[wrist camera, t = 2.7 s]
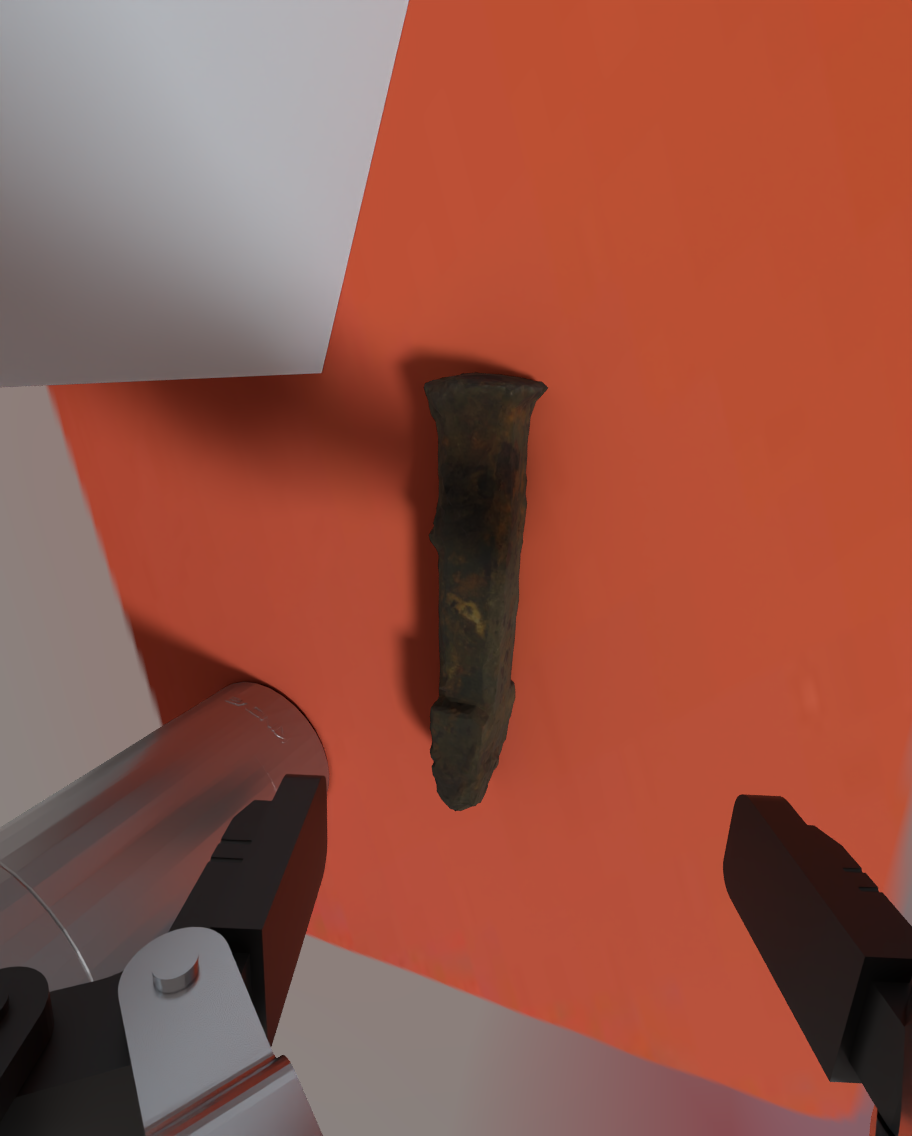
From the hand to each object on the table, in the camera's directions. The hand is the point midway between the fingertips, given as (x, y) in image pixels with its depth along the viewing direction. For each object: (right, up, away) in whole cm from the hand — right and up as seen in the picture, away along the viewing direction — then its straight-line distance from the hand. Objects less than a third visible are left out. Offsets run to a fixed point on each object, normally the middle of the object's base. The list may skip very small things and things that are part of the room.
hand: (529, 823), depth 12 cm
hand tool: (+1, +4, +15) cm, 15 cm away
